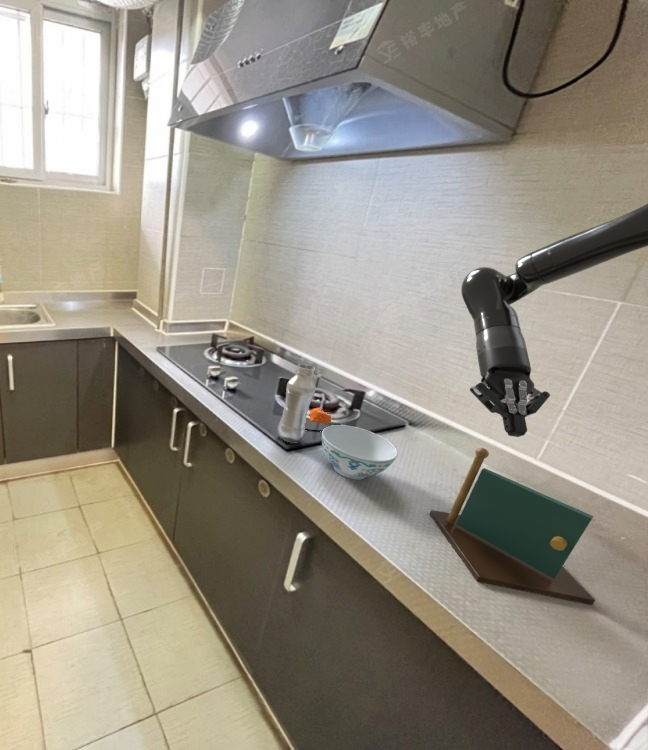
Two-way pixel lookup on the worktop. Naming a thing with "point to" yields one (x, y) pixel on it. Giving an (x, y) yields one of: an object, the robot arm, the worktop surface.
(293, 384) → the plastic bottle
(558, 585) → the door stand
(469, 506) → the door
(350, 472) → the chinaware
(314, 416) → the rock
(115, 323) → the worktop surface
